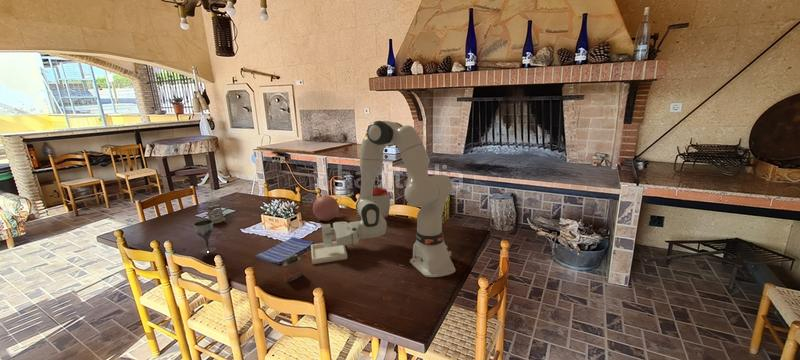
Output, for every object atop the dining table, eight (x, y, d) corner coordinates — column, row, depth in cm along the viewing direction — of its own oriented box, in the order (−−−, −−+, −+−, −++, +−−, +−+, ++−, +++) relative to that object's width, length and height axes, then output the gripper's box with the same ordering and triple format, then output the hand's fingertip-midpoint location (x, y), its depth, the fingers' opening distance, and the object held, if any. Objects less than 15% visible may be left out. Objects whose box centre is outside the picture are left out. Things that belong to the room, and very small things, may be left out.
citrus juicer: (397, 219, 203) (396, 188, 198) (369, 224, 197) (368, 191, 192) (388, 211, 217) (387, 181, 212) (362, 215, 211) (360, 185, 206)
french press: (209, 218, 213) (202, 180, 206) (229, 216, 216) (223, 179, 210) (205, 224, 204) (198, 184, 197) (226, 221, 207) (220, 182, 201)
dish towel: (316, 246, 172) (315, 241, 171) (279, 267, 152) (278, 261, 152) (292, 239, 180) (292, 234, 180) (254, 258, 161) (253, 253, 160)
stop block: (332, 246, 160) (330, 226, 157) (323, 247, 159) (322, 227, 156) (331, 242, 164) (330, 223, 161) (323, 243, 163) (321, 224, 160)
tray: (347, 258, 157) (347, 254, 156) (312, 264, 153) (311, 259, 152) (343, 244, 172) (343, 240, 171) (311, 249, 168) (310, 244, 167)
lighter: (299, 272, 146) (297, 251, 144) (304, 274, 144) (301, 253, 142) (283, 280, 140) (280, 258, 138) (287, 282, 138) (284, 261, 136)
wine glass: (197, 255, 165) (191, 226, 161) (202, 248, 172) (196, 220, 168) (215, 252, 167) (210, 224, 163) (219, 245, 174) (214, 218, 170)
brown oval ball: (348, 215, 213) (347, 191, 209) (329, 226, 196) (326, 201, 192) (329, 211, 220) (327, 189, 216) (308, 222, 203) (306, 198, 199)
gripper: (350, 217, 172) (323, 220, 168) (356, 233, 153) (325, 237, 149) (351, 228, 174) (324, 232, 170) (357, 245, 155) (327, 250, 151)
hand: (324, 234), depth 160 cm, fingers closed on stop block, 4 cm apart
